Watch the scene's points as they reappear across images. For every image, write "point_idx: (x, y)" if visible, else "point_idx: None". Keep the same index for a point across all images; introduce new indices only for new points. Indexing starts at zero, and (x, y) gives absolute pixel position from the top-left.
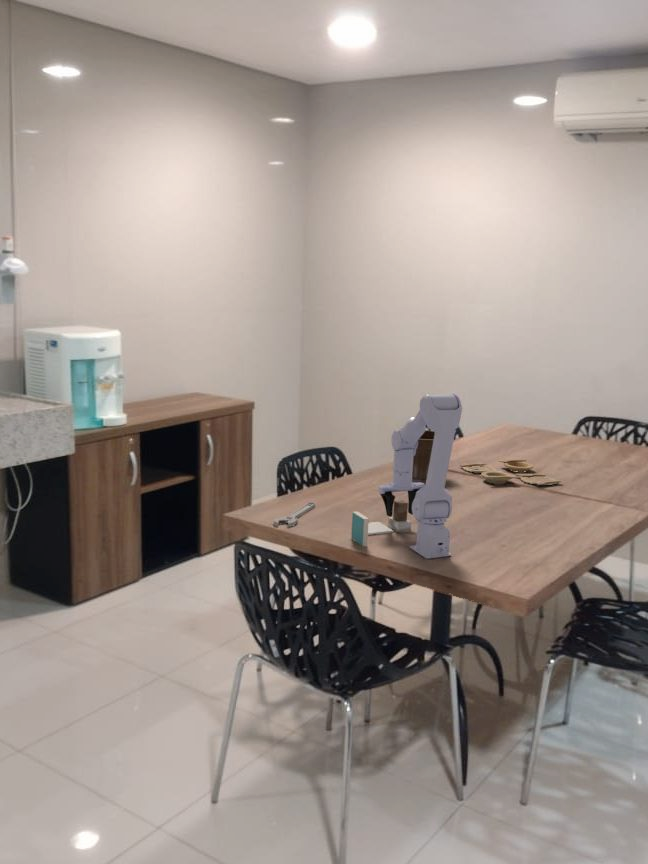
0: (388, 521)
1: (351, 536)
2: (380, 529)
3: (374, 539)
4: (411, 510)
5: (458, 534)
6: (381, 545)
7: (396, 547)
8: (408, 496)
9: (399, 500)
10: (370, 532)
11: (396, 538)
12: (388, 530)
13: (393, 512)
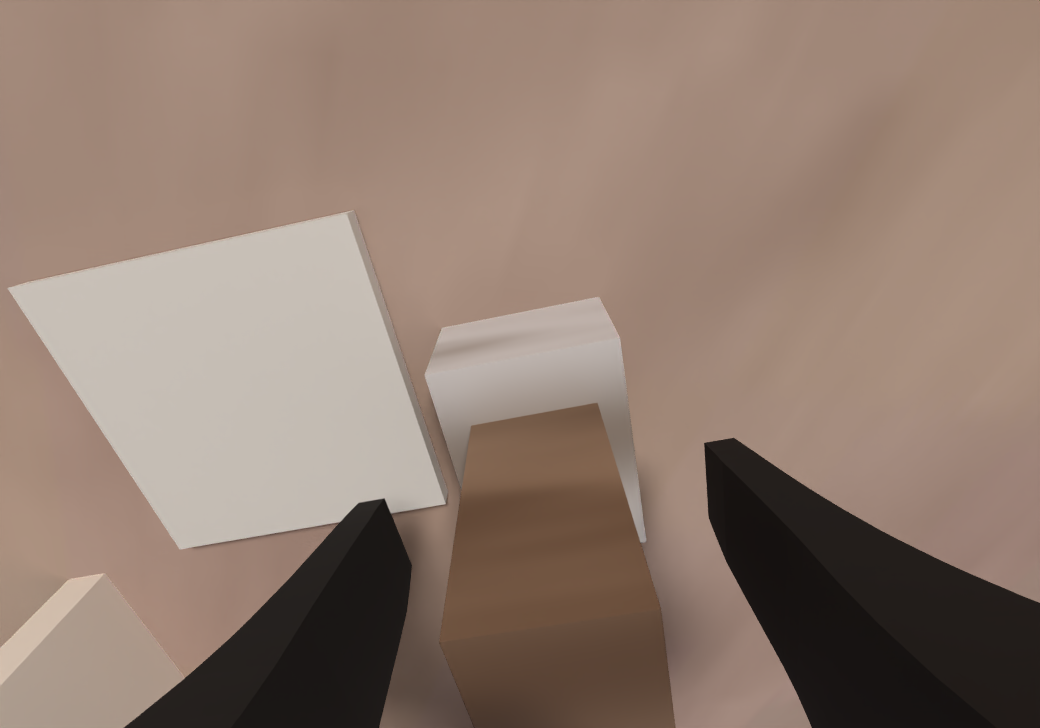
0: (434, 355)
1: (50, 601)
2: (325, 468)
3: (258, 606)
4: (730, 545)
5: (986, 568)
6: None
7: (395, 724)
8: (868, 629)
9: (569, 630)
10: (220, 528)
11: (439, 602)
12: (400, 497)
13: (464, 476)
